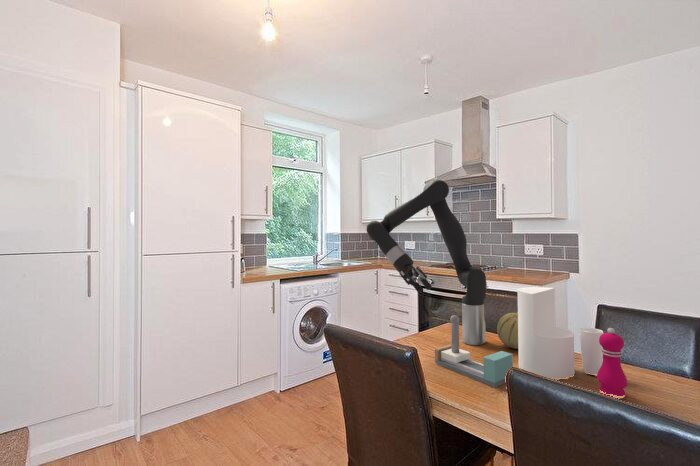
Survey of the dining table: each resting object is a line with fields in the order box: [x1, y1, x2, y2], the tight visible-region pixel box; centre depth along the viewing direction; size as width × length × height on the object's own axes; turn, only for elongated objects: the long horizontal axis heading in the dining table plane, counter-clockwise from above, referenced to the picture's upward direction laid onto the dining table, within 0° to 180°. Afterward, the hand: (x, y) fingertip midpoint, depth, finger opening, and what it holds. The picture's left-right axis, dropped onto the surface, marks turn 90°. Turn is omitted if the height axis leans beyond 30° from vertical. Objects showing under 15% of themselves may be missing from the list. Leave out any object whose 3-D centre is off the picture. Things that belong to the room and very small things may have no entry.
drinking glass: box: [579, 327, 604, 374], centre depth 119 cm, size 7×7×15 cm
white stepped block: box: [517, 286, 576, 381], centre depth 123 cm, size 17×17×28 cm
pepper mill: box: [596, 327, 628, 400], centre depth 104 cm, size 7×7×20 cm
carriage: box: [441, 314, 471, 363], centre depth 129 cm, size 8×7×16 cm
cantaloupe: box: [496, 312, 518, 350], centre depth 146 cm, size 15×15×15 cm
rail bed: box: [434, 343, 514, 388], centre depth 123 cm, size 10×25×8 cm, turn 33°
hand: (425, 289), depth 136 cm, fingers open, 8 cm apart
